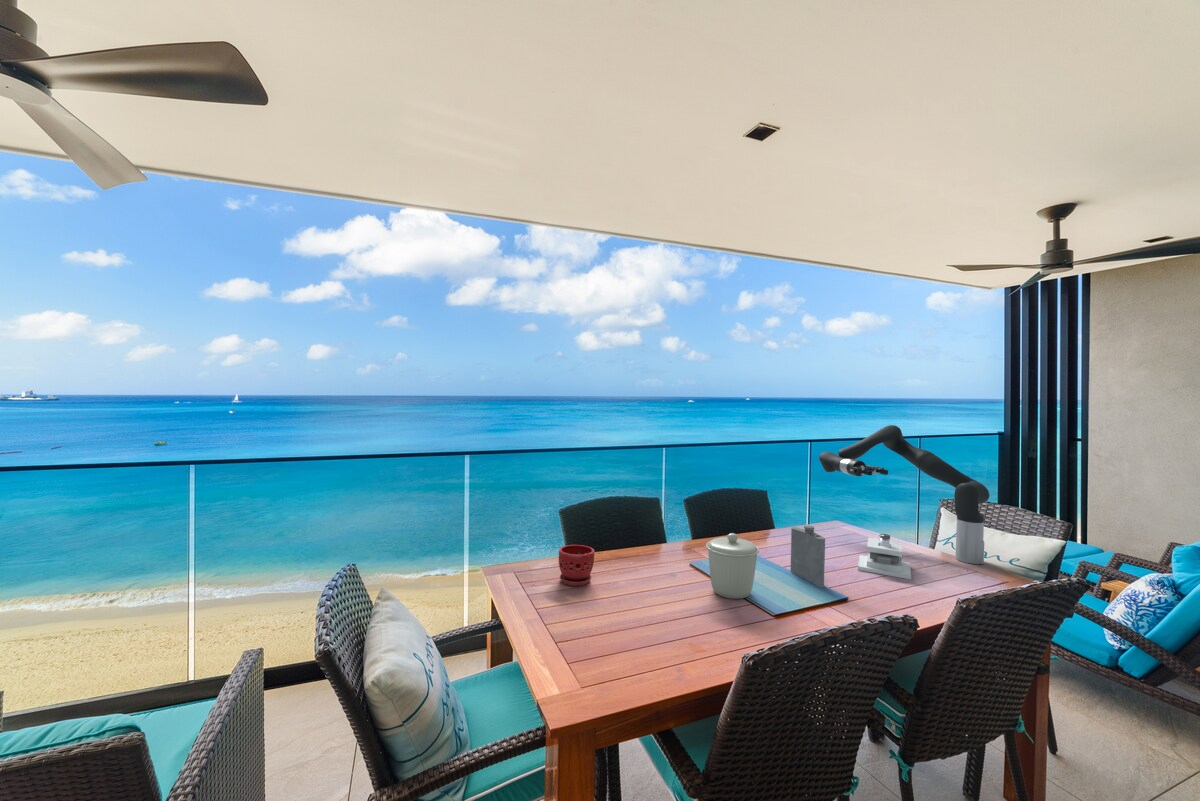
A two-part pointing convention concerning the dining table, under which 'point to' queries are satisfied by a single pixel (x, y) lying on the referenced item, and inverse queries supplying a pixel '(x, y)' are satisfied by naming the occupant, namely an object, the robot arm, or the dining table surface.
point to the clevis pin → (884, 540)
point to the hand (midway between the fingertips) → (879, 472)
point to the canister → (732, 566)
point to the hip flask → (808, 554)
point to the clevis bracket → (884, 559)
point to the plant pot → (576, 564)
